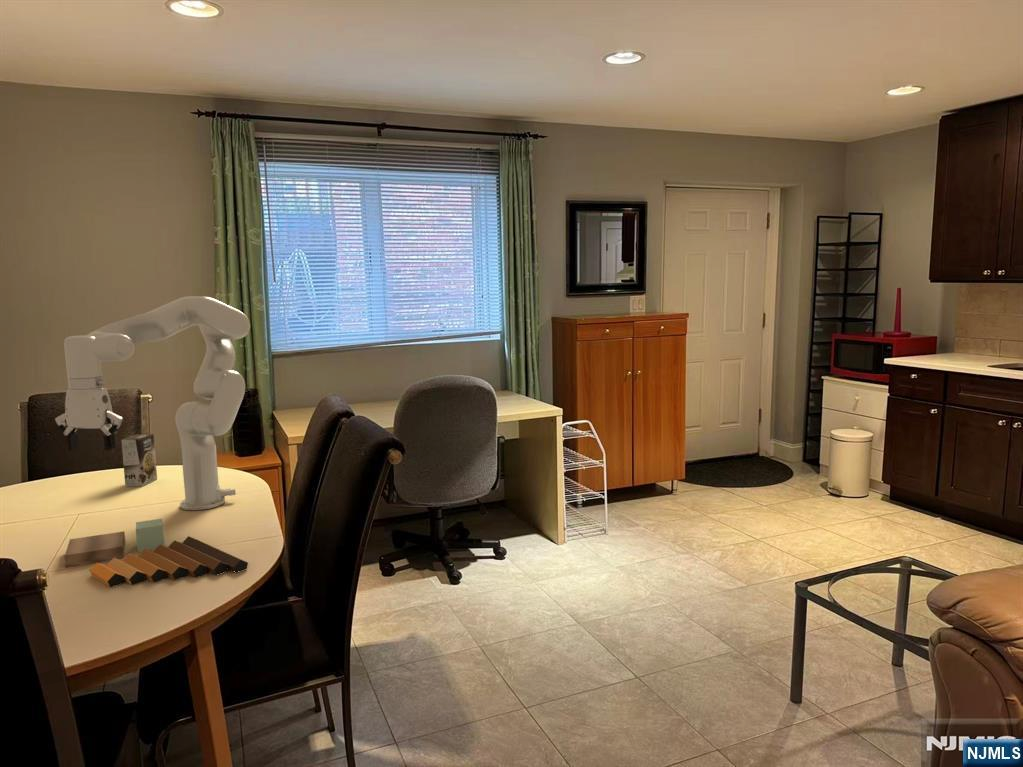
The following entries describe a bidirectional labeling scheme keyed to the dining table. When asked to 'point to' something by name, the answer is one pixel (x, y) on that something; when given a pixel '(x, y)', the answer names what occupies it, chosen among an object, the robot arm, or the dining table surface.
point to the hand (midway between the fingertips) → (91, 449)
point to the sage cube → (149, 534)
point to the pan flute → (168, 563)
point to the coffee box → (139, 460)
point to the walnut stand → (95, 549)
